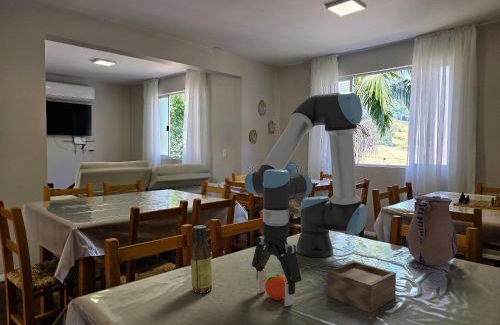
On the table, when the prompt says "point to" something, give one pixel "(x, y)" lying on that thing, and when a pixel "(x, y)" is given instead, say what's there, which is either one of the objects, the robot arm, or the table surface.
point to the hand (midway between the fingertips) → (274, 297)
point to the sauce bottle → (201, 261)
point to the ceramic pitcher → (432, 231)
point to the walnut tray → (361, 285)
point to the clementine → (275, 286)
